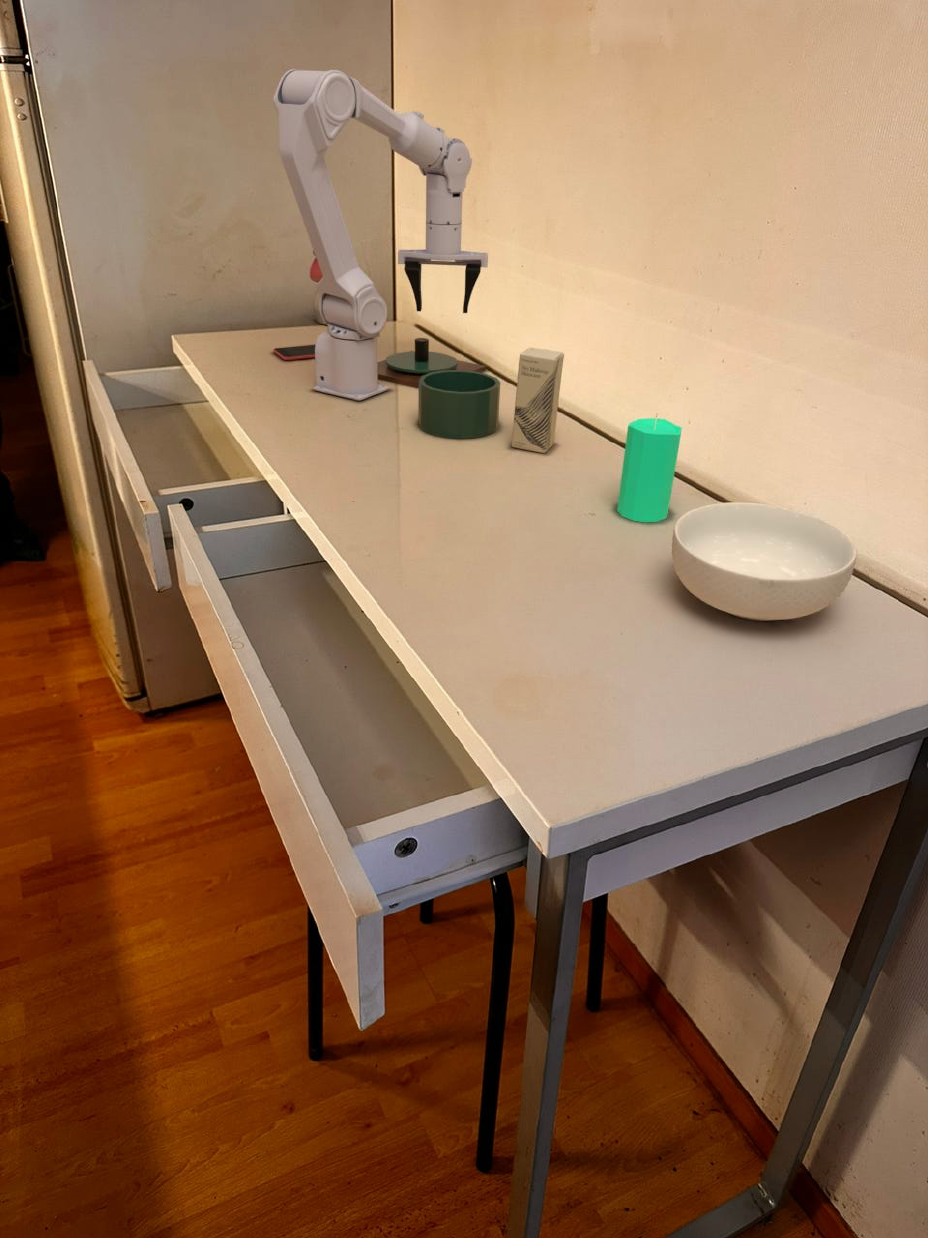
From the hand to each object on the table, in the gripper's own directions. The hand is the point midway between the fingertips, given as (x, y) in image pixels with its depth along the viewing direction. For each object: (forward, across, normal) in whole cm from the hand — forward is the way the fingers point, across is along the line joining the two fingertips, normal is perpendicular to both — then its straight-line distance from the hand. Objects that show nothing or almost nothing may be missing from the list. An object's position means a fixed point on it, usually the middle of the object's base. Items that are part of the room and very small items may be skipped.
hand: (442, 310), depth 150 cm
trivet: (+10, +3, +1) cm, 11 cm away
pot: (+10, -4, +28) cm, 30 cm away
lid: (+9, +3, 0) cm, 9 cm away
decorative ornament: (+10, +24, -33) cm, 42 cm away
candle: (+10, -27, +57) cm, 63 cm away
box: (+10, -15, +36) cm, 40 cm away
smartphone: (+10, +23, -8) cm, 27 cm away
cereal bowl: (+10, -34, +77) cm, 85 cm away
